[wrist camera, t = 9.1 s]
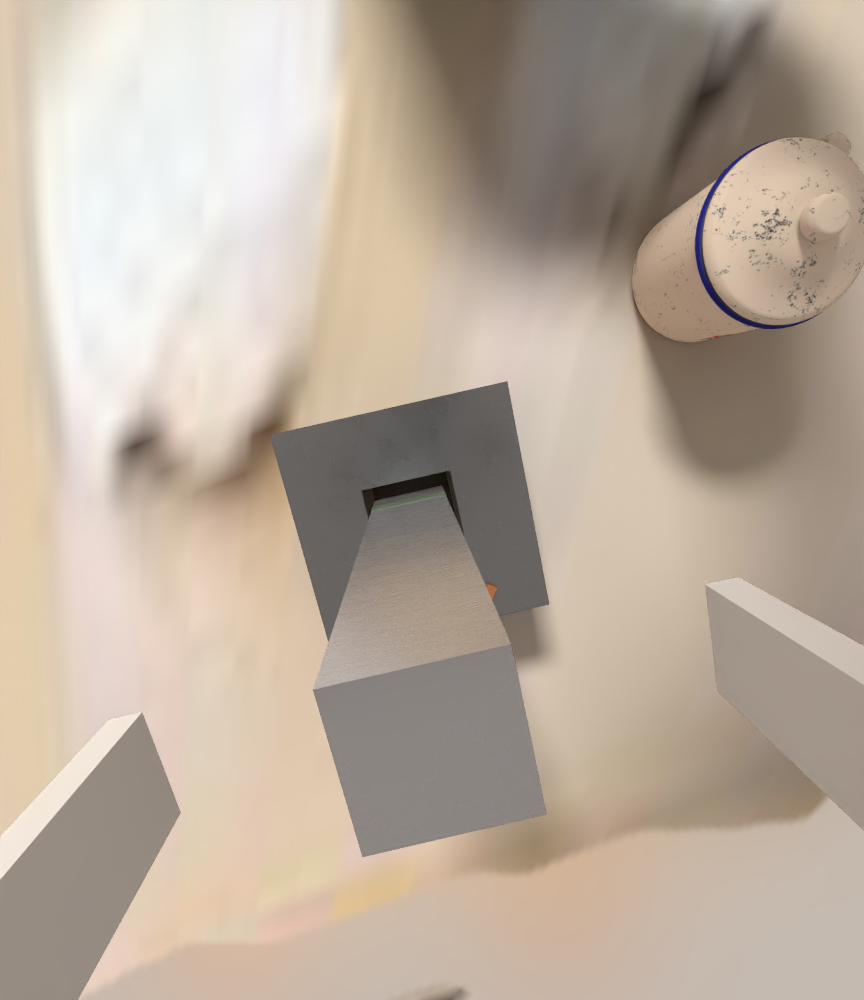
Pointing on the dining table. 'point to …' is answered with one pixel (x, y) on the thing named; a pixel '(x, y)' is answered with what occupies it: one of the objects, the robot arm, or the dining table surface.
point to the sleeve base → (407, 455)
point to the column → (423, 687)
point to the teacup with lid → (756, 244)
